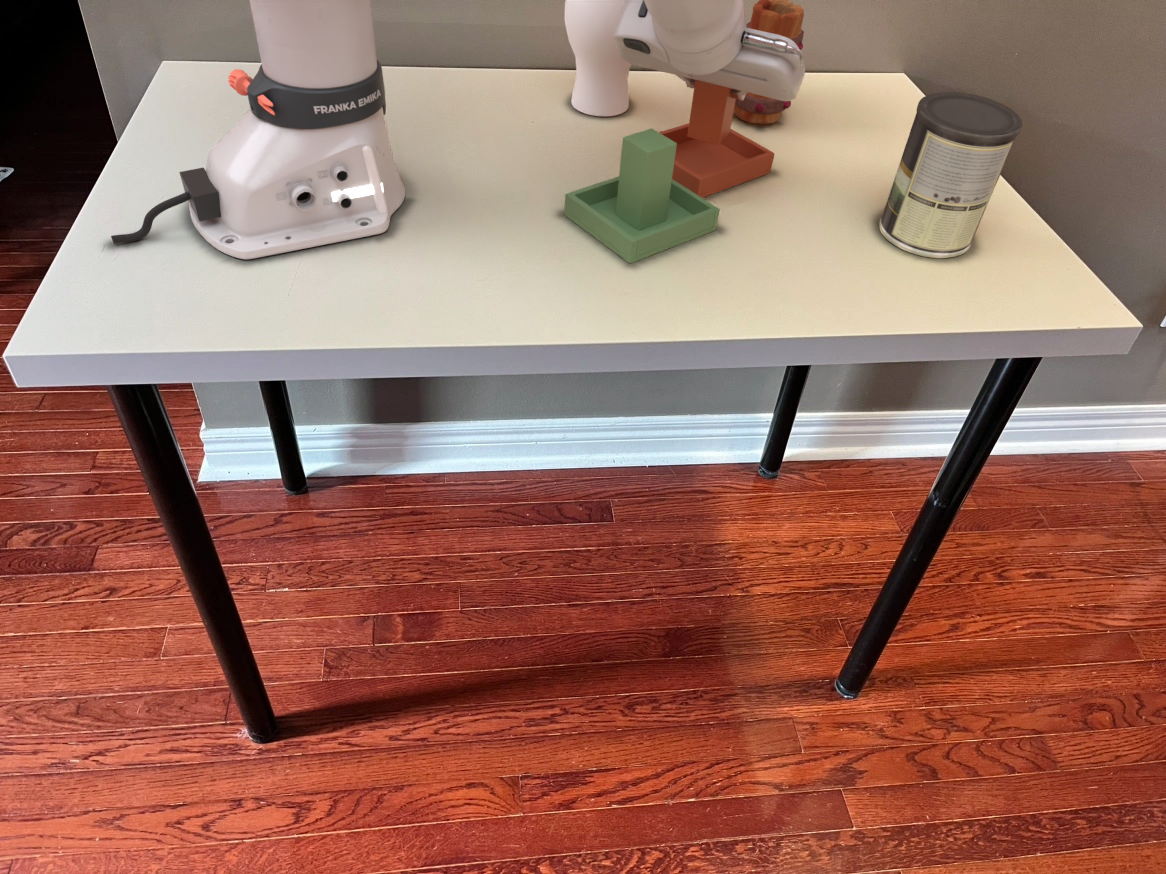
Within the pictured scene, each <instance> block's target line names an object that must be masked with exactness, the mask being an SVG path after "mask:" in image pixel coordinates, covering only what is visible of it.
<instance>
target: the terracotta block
mask: <svg viewBox="0 0 1166 874" xmlns="http://www.w3.org/2000/svg"><path fill="white" fill-rule="evenodd" d="M730 91H731V88H728V87H724V86H719V85H715V84H711V83H707V82H703V81H699V80H695V86H694V89H693V92H692V93H693V94H692V101H691V108H690V114H689V121H688V123H689V127H688V134H687V137H690V138H694V139H697V140H701V141H705V142H709V143H713V144H717V145H719V144H720V143H721V142H722V141H723V140H724V138H725V137H726V136H727V135H728V134H729V132H730V129H732V128H731V127H732V122H733V117H734V106H735V100H736V99H735V98H731V95H730Z"/></svg>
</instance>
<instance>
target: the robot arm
mask: <svg viewBox="0 0 1166 874" xmlns="http://www.w3.org/2000/svg"><path fill="white" fill-rule="evenodd" d="M248 1H249V7H250V11H251V16H252V21H253V27H254V31H255V37H256V41H257V42H256V43H257V48H258V51H259V56H260V57H259V58H260V62H261V64H260V66H259V68H258V71H257V73H256V74H255V76H254V77H253V78H252V77H251V76H250V75H248V73H247V72H245V71H244V70H243V69H239V68H237V69H236V68H235V69H233V70H232V71H230V72H229V75H228V76H227V79H228V80H227V82H228V83H229V86H230V88H232V89H233V90H234V91H235V92H236V93H237V94H238V95H240V96H245V97H246V96H247V99H248V104H249V108H250V109H248V111H246V113H245V114H244V115H242V117H241V118H240V119H239V120H238V121H237V122H236V123H235V124H234V126H233V127H232V128H231V129H230V130H229V131H228V132H227V133H226V134H225V135H224V136H223V137H222V138H221V139H220V140H219V141H218V142H216V144H215V145H214V146H212V148H211V149H210V150H209V152H208V153H207V156H206V157H207V158H206V163H205V168H204V167H199V168H198V167H197V168H193V169H188V170H184V171H179V176H180V179H181V183H182V187H183V190H184V192H183V193H180V194H178V195H176V196H173V197H171V198H168V199H167V200H163V201H162V202H159V203H158V204H156V205H154V207H152V208H151V209H150V210H148V212H147V213H146V214H145V216H144V218H143V222H142V226H141V227H140V229H138V230H137V231H134V232H132V233H125V234H123V233H121V234H114V235H111V236H110V238H111V240H112V243H113V245H115V244H123V243H132V242H138V241H139V240H142V239H144V238H145V237H147V236H148V235H149V234H150V232H151V230H152V226H153V223H154V220H155V219H156V218H157V217H158V216H159V215H161V214H162V213H164V212H165V211H167V210H168V209H171V208H173V207H176V206H178V205H181V204H183V203H185V202H188V204H189V205H188V208H189V214H190V215H189V216H190V218H191V222H192V223H193V225H194V228H195V229H196V230H197V232H198V233H199V235H200V236H202V238H203V239H204V240H205V241H206V242H208V244H209V245H211V246H212V247H213V248H216V250H218V251H219V252H222V253H224V254H225V255H228V256H231V257H233V258H237V259H241V260H252V259H259V258H264V257H268V256H274V255H279V254H283V253H289V252H294V251H299V250H304V249H308V248H315V247H319V246H325V245H331V244H334V243H335V244H336V243H340V242H345V241H351V240H356V239H360V238H365V237H366V238H367V237H371V236H376V235H381V234H383V233H385V232H387V230H388V229H389V226H390V221H391V217H392V215H393V214H394V213H395V212H396V211H398V209H399V208H400V207H401V205H402V204H403V202H404V200H405V198H406V188H405V185H404V183H403V181H402V178H401V176H400V173H399V171H398V168H397V164H396V162H395V159H394V155H393V152H392V148H391V147H392V146H391V144H390V138H389V134H388V129H387V125H386V124H387V123H386V118H385V116H386V113H387V102H386V87H385V81H384V75H383V66H382V64H381V63H380V61H379V59H378V58H377V47H376V39H375V27H374V17H373V9H372V8H373V7H372V0H248ZM614 38H615V40H616V47H617V50H618V52H619V54H620V56H621V58H622V59H623V60H625V61H626V62H628V63H630V64H631V66H636V67H641V68H645V69H649V70H653V71H657V72H662V73H666V74H669V75H670V74H671V75H674V76H676V77H677V78H679V79H680V80H682V81H683V82H685V85H686V88H690V89H693V90H694V86H695V80H699V81H703V82H707V83H711V84H715V85H719V86H724V87H728V88H731V91H730V95H731V98H735V99H738V100H742V101H743V100H744V98H745V95H746V93H752V94H757V95H761V96H765V97H769V98H773V99H777V100H781V101H791V102H792V101H793V100H795V99H796V98H797V96H798V94H799V93H800V92H799V91H800V89H801V87H802V84H803V81H804V78H805V74H806V67H805V61H804V56H803V52H802V49H801V50H800V49H799V48H798V46H797V45H796V43H795V42H794V41H792V40H791V39H789V38H787V37H784V36H781V35H777V34H773V33H768V32H764V31H759V30H755V29H750V28H747V16H746V10H745V5H744V0H624V3H623V5H622V8H621V11H620V14H619V17H618V20H617V24H616V28H615V32H614Z"/></svg>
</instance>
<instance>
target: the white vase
mask: <svg viewBox="0 0 1166 874" xmlns="http://www.w3.org/2000/svg"><path fill="white" fill-rule="evenodd" d="M623 3H624V0H565V2H564V25H565V30H566V34H567V39H568V43H569V45H570V48H571V50H572V53H573V54H574V58H575V72H576V75H575V80H574V85H573V88H572V93H571V99H570V102H571V105H572V107H573V108H574V109H575V110H577V111H578V112H580V113H583V114H586V115H590V116H594V117H595V116H596V117H614V116H618V115H621V114H623V113H625V112H626V111H627V110H628V109H629V106H630V94H629V81H628V79H629V75H630V71H631V66H632V64H630V63H628V62H626V61H625V60H623V59H622V58H621V56H620V54H619V52H618V50H617V47H616V40H615V38H614V32H615V28H616V24H617V20H618V17H619V14H620V11H621V8H622V5H623Z"/></svg>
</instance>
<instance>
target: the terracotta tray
mask: <svg viewBox="0 0 1166 874" xmlns="http://www.w3.org/2000/svg"><path fill="white" fill-rule="evenodd" d="M688 127H689V122H687V123H685V124H681V125H679V126H675V127H672V128H668V129H665V130H662V131H658V132H659V133H660V134H662V135H664V136H665V137H667V138H669V139H670V140H672V141H674V142H675V143H677V147H676V154H675V161H674V168H673V175H672V179H673V180H675V181H676V182H678V183H679V184H681V185H682V186H684V187H686V188H687V189H689V190H690V191H692V192H693V193H695V194H697V195H698V196H700V197H701V198H703V199H704V198H705V197H707V196H708V197H709V196H711V195H713V194H716V193H719V192H722V191H725V190H728V189H730V188H733V187H736V186H739V185H741V184H743V183H747V182H749V181H752V180H755V179H758V178H760V177H763V176H766V175H769V174H771V172H772V167H773V162H774V159H775V155H776V154H775V152H774V151H772V150H770V149H768V148H766V147H764V146H763V145H761V144H759V143H757V142H756V141H754V140H752V139H750V138H749V137H748V136H747V137H746V136H745V135H743V134H741V133H739V132H738V131H736V130H734V129H732V128H730V132H729V134H728V135H727V136H726V137H725V138H724V140H723V141H722V142H721V143H720V144H719V145H717V144H713V143H709V142H705V141H701V140H697V139H694V138H690V137H687V134H688Z"/></svg>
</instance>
